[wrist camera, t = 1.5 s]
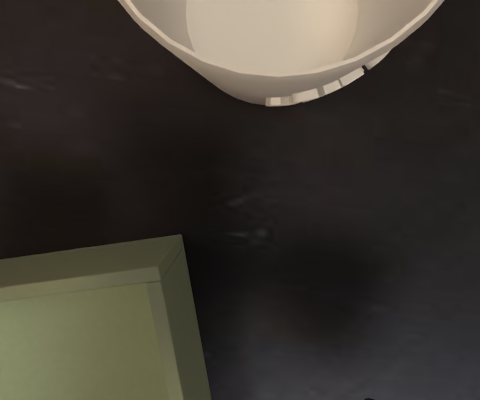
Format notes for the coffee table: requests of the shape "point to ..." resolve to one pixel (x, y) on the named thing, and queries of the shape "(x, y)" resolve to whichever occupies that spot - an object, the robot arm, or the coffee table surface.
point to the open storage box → (101, 325)
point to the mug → (280, 41)
